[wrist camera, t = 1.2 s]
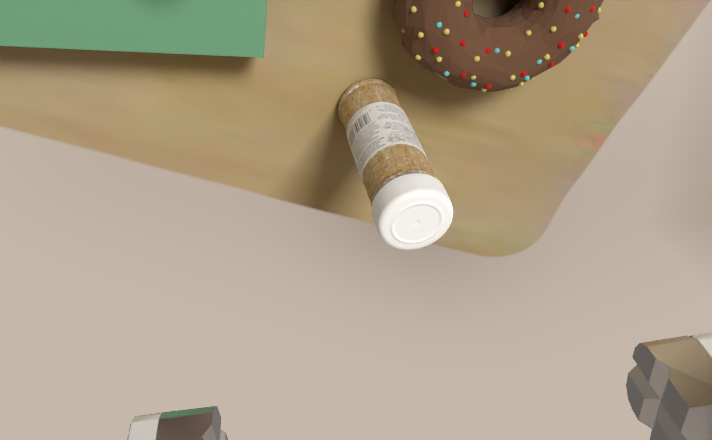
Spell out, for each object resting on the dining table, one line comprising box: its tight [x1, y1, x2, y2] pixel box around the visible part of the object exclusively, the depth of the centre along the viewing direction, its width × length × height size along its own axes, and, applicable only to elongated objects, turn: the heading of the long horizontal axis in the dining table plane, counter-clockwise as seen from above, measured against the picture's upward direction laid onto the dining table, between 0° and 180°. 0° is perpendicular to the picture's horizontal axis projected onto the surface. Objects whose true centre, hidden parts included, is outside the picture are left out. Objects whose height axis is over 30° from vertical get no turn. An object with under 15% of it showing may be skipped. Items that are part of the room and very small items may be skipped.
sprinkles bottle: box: [338, 79, 453, 250], centre depth 41 cm, size 5×5×14 cm
